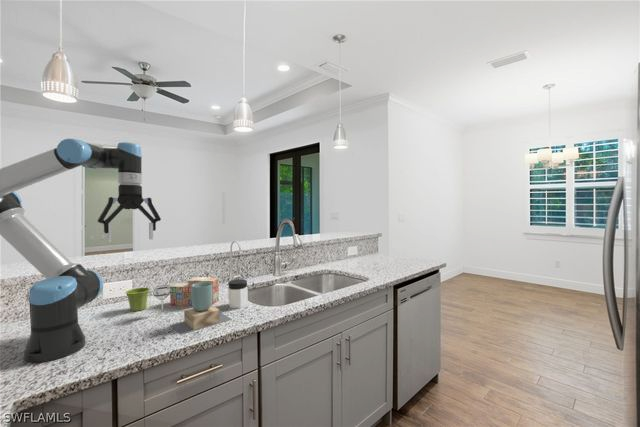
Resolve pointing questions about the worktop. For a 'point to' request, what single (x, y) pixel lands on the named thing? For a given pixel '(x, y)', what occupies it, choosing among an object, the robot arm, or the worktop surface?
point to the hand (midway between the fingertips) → (131, 240)
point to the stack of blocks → (183, 291)
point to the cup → (202, 295)
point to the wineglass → (161, 294)
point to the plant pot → (137, 298)
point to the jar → (238, 293)
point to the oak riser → (201, 317)
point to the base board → (184, 328)
